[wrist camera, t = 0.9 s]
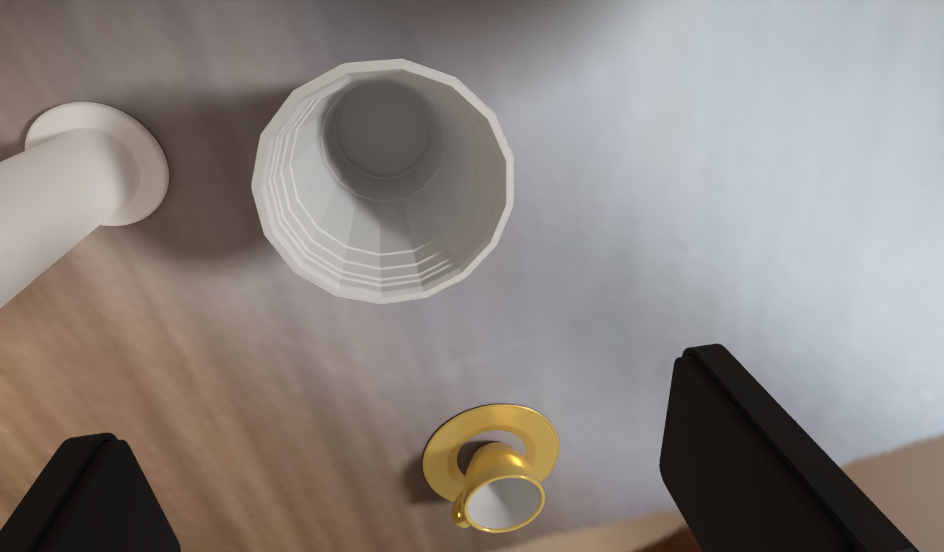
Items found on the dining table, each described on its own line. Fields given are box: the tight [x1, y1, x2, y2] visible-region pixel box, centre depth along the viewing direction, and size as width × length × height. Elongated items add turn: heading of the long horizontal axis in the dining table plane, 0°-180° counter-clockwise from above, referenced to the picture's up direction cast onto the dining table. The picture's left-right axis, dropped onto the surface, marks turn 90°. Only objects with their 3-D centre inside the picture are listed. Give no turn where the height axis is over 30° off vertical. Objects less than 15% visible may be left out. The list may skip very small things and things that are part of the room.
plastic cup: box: [251, 59, 514, 304], centre depth 27 cm, size 11×11×12 cm
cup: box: [423, 404, 559, 533], centre depth 45 cm, size 12×12×5 cm
